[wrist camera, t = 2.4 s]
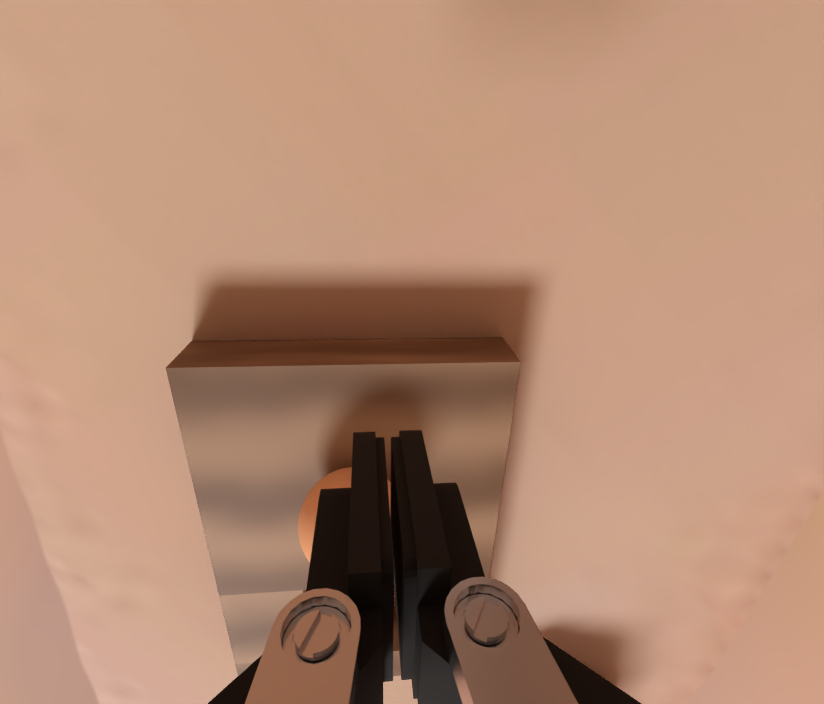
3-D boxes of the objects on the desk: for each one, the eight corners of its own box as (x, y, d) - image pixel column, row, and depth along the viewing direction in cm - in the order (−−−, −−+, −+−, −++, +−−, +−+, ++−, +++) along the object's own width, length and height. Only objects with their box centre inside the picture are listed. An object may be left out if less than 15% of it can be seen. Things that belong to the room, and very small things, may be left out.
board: (191, 341, 21) (165, 367, 19) (502, 337, 23) (520, 361, 20) (252, 643, 31) (241, 689, 29) (466, 626, 33) (475, 668, 30)
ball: (302, 447, 21) (284, 526, 17) (403, 444, 22) (412, 520, 17) (309, 523, 23) (295, 612, 19) (401, 518, 24) (409, 604, 19)
